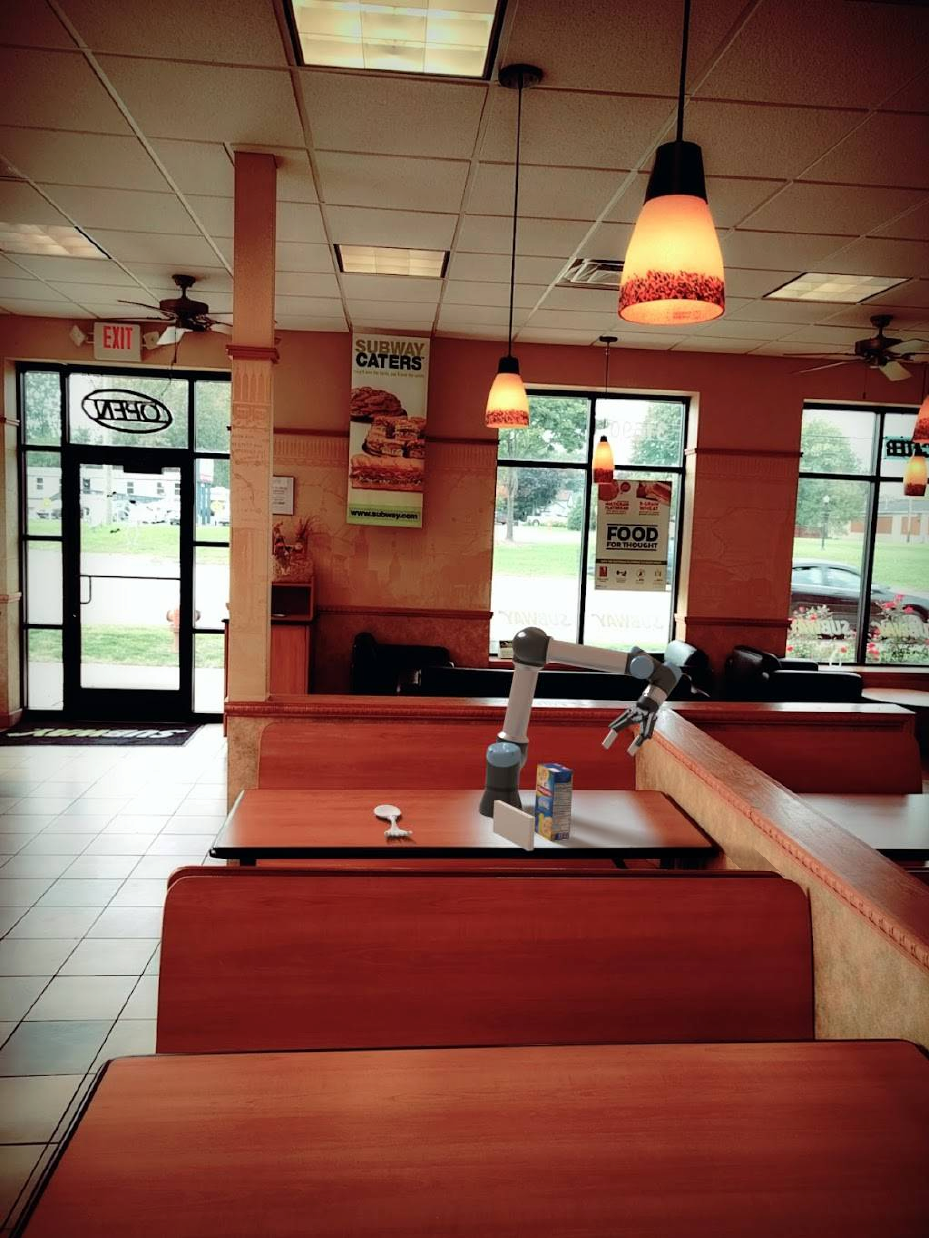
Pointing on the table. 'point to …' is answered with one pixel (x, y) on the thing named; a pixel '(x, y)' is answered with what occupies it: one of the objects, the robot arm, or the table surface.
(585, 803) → the table surface
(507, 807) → the board
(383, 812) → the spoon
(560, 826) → the beverage box
